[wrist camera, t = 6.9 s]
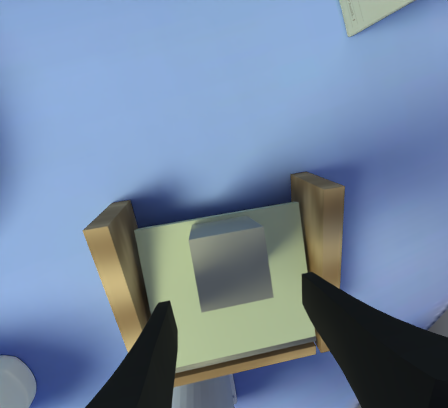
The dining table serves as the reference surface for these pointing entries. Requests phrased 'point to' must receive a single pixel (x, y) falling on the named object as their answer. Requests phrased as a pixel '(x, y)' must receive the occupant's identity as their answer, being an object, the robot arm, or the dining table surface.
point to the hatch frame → (135, 286)
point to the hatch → (235, 315)
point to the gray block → (230, 263)
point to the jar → (15, 383)
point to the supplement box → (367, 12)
